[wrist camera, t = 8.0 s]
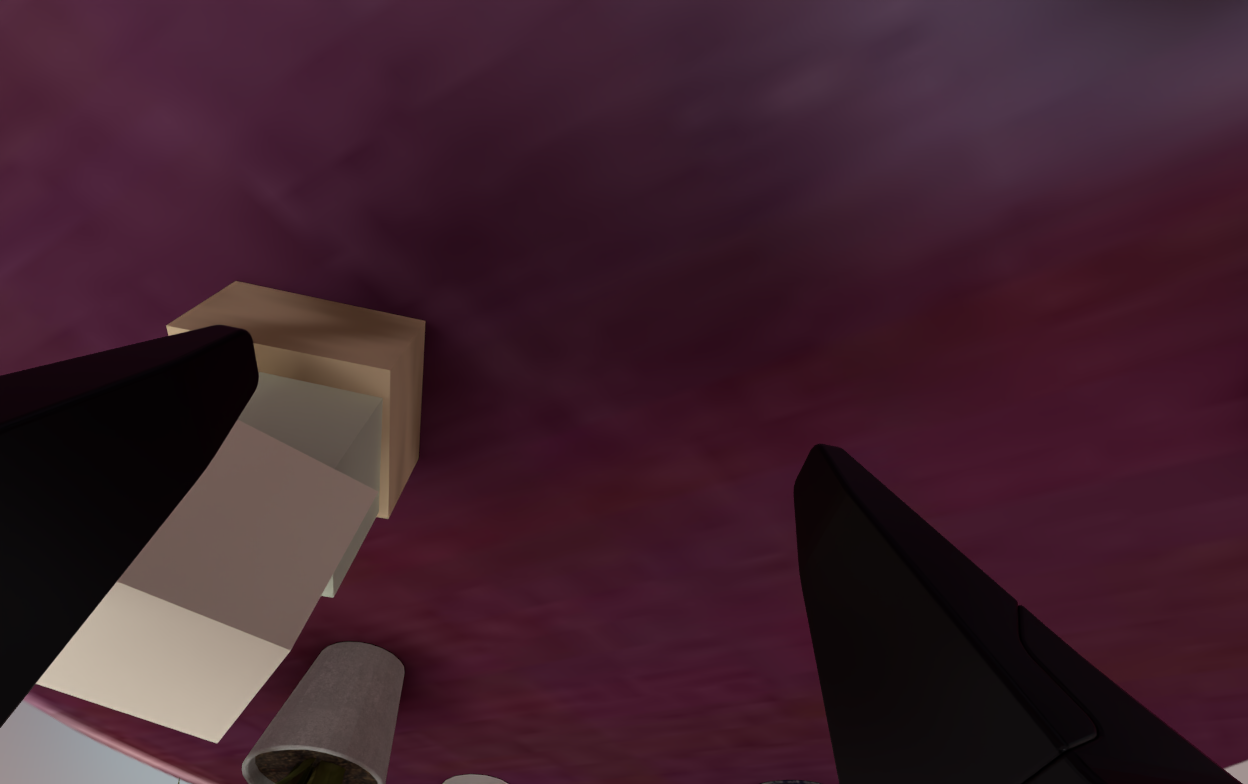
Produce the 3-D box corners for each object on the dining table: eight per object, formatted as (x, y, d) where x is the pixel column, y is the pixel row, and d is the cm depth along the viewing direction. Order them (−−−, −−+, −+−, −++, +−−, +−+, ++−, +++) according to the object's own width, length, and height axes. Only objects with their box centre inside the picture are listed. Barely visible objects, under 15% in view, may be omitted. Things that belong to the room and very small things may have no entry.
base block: (427, 318, 22) (390, 370, 19) (420, 455, 26) (388, 519, 23) (239, 278, 22) (165, 325, 18) (259, 425, 25) (201, 486, 22)
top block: (382, 398, 20) (330, 475, 16) (378, 512, 22) (333, 597, 19) (212, 361, 19) (121, 434, 16) (231, 484, 22) (157, 567, 18)
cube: (378, 492, 17) (290, 650, 12) (311, 581, 19) (217, 743, 14) (201, 400, 15) (30, 547, 11) (150, 510, 17) (-9, 668, 13)
